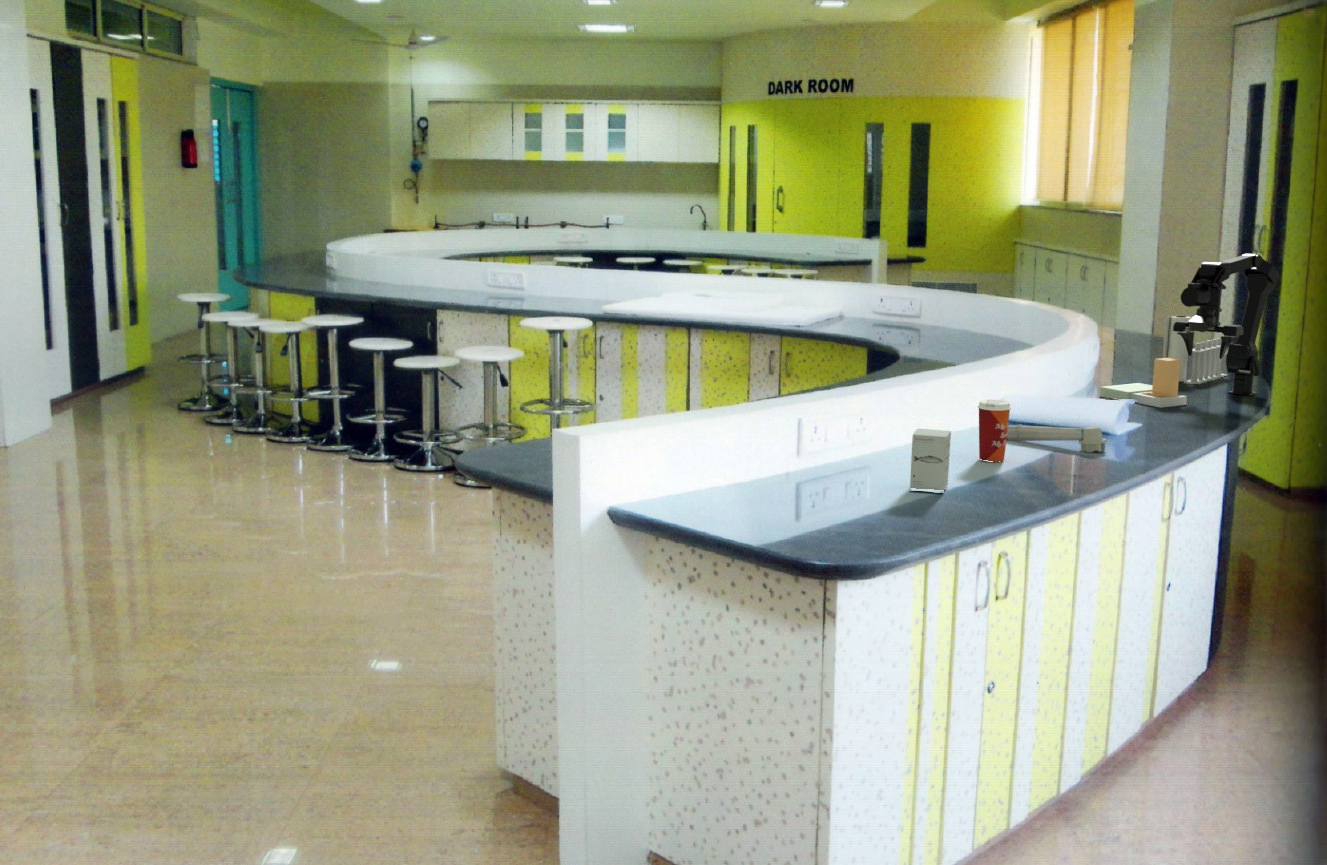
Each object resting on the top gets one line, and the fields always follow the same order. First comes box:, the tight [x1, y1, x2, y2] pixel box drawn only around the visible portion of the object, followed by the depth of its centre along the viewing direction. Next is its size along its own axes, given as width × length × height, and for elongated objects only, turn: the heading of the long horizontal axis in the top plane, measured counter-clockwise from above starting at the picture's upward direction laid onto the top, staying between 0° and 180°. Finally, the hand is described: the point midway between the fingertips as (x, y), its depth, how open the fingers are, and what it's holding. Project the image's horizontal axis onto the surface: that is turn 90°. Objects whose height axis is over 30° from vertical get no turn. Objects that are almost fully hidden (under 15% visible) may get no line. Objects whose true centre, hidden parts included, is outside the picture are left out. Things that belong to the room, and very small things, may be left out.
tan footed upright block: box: [1147, 357, 1180, 398], centre depth 353 cm, size 7×5×13 cm
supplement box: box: [909, 428, 952, 490], centre depth 254 cm, size 7×7×13 cm
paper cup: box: [977, 399, 1012, 463], centre depth 280 cm, size 8×8×14 cm
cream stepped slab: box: [1099, 382, 1188, 409], centre depth 359 cm, size 16×22×3 cm
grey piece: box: [1006, 424, 1108, 453], centre depth 296 cm, size 5×7×25 cm
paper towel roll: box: [1162, 315, 1192, 383], centre depth 392 cm, size 7×6×21 cm
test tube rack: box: [1183, 337, 1228, 385], centre depth 394 cm, size 25×4×13 cm, turn 134°
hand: (1205, 357), depth 356 cm, fingers open, 9 cm apart
